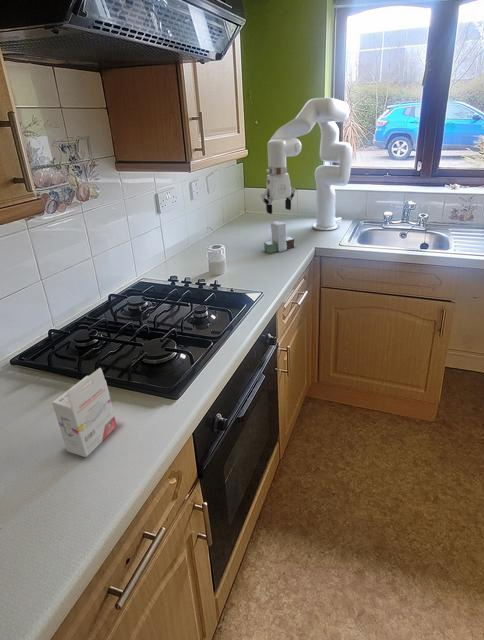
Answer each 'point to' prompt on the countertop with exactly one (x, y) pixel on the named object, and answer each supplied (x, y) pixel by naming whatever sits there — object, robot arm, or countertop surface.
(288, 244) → the walnut block
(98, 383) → the ink cartridge box
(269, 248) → the sage block
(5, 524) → the countertop surface
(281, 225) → the cosmetic box
